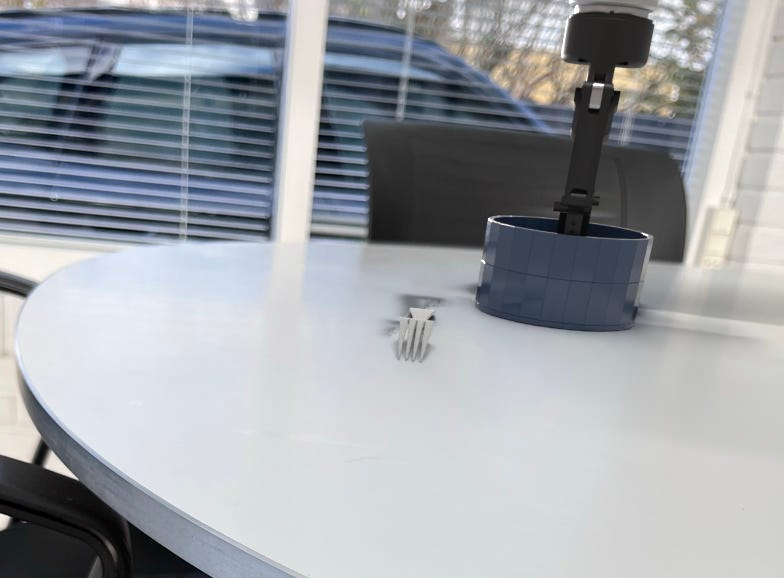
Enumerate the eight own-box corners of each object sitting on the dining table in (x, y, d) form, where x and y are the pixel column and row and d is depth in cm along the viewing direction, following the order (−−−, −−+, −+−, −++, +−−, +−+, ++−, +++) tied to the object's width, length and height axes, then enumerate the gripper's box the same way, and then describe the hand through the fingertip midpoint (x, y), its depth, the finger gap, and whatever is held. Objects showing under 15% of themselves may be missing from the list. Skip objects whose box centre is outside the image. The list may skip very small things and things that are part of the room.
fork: (434, 340, 99) (438, 309, 98) (428, 362, 79) (433, 324, 78) (404, 336, 99) (408, 306, 98) (391, 358, 80) (396, 320, 79)
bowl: (632, 311, 109) (650, 229, 105) (635, 338, 96) (656, 245, 92) (483, 292, 112) (496, 211, 108) (466, 316, 98) (480, 224, 95)
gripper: (662, 4, 82) (602, 303, 92) (651, 27, 101) (603, 272, 111) (563, -2, 83) (516, 293, 93) (571, 22, 102) (531, 264, 113)
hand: (563, 281), depth 102 cm, fingers open, 10 cm apart
